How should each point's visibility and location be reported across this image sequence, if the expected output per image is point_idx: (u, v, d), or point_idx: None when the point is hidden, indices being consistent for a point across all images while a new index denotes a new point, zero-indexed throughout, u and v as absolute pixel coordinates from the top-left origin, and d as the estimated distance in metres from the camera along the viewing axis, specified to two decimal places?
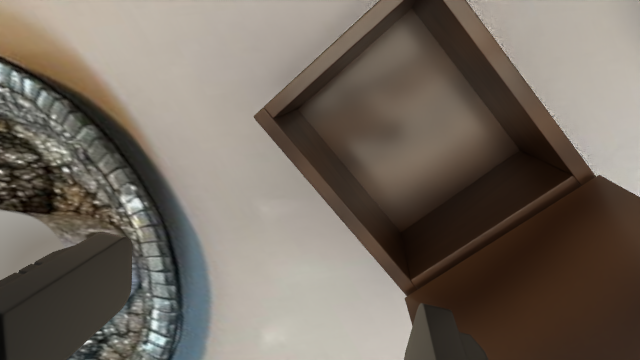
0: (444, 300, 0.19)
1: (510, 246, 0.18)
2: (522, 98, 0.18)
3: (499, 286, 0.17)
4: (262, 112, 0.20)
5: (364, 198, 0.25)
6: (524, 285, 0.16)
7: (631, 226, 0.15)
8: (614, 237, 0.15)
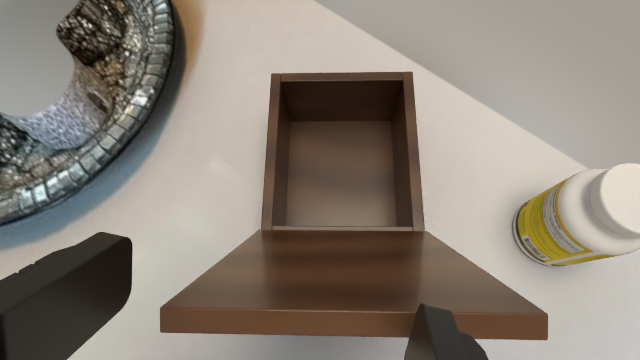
0: (285, 234, 0.24)
1: (349, 232, 0.24)
2: (412, 163, 0.27)
3: (325, 237, 0.23)
4: (278, 74, 0.30)
5: (283, 188, 0.32)
6: (341, 240, 0.22)
7: (421, 241, 0.22)
8: (408, 241, 0.22)
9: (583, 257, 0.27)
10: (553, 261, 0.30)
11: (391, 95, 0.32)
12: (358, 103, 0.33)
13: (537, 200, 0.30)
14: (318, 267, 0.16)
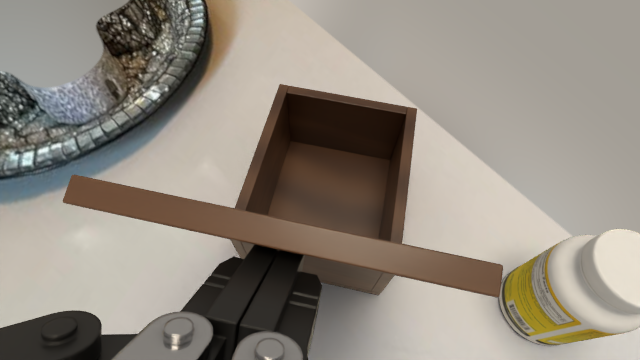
0: None
1: None
2: (399, 192, 0.26)
3: None
4: (285, 86, 0.31)
5: (266, 198, 0.31)
6: None
7: None
8: None
9: (570, 332, 0.24)
10: (538, 335, 0.27)
11: (393, 129, 0.32)
12: (359, 132, 0.33)
13: (527, 263, 0.28)
14: None
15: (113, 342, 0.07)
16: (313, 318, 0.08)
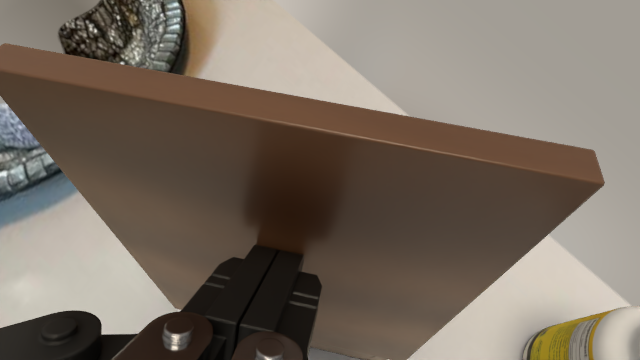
0: None
1: None
2: None
3: None
4: None
5: None
6: None
7: None
8: None
9: None
10: None
11: None
12: None
13: (560, 331, 0.22)
14: None
15: (113, 342, 0.07)
16: (313, 318, 0.08)
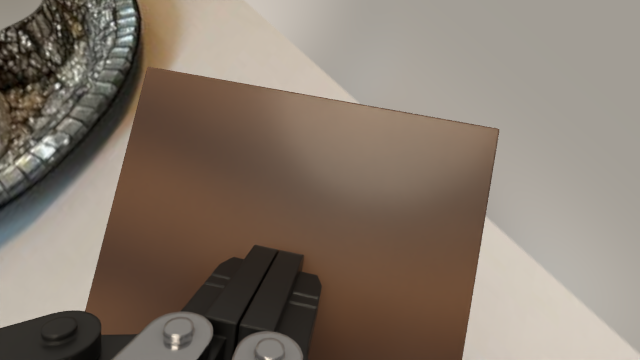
0: None
1: None
2: None
3: None
4: None
5: None
6: None
7: None
8: None
9: None
10: None
11: None
12: None
13: None
14: None
15: (113, 342, 0.07)
16: (313, 318, 0.08)
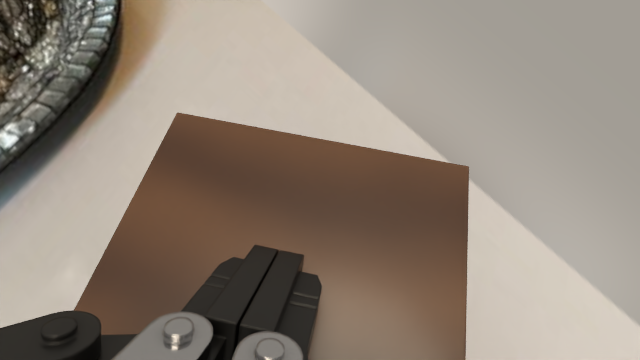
0: None
1: None
2: None
3: None
4: None
5: None
6: None
7: None
8: None
9: None
10: None
11: None
12: None
13: None
14: None
15: (112, 342, 0.07)
16: (313, 318, 0.08)
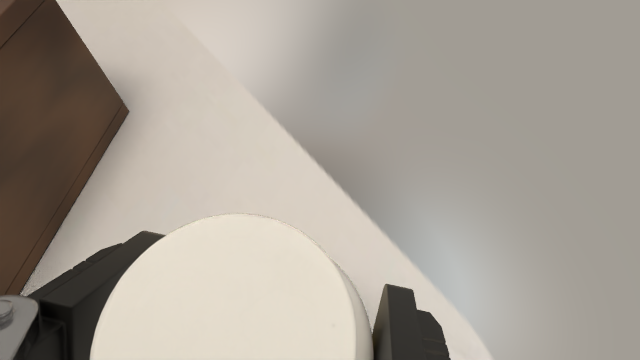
0: None
1: None
2: None
3: None
4: None
5: None
6: None
7: None
8: None
9: None
10: None
11: None
12: None
13: None
14: None
15: None
16: None
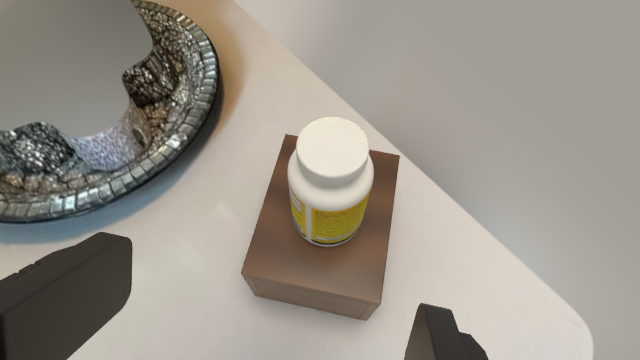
0: None
1: None
2: None
3: None
4: None
5: None
6: None
7: None
8: None
9: (311, 218, 0.27)
10: (307, 233, 0.30)
11: None
12: None
13: None
14: None
15: None
16: None
